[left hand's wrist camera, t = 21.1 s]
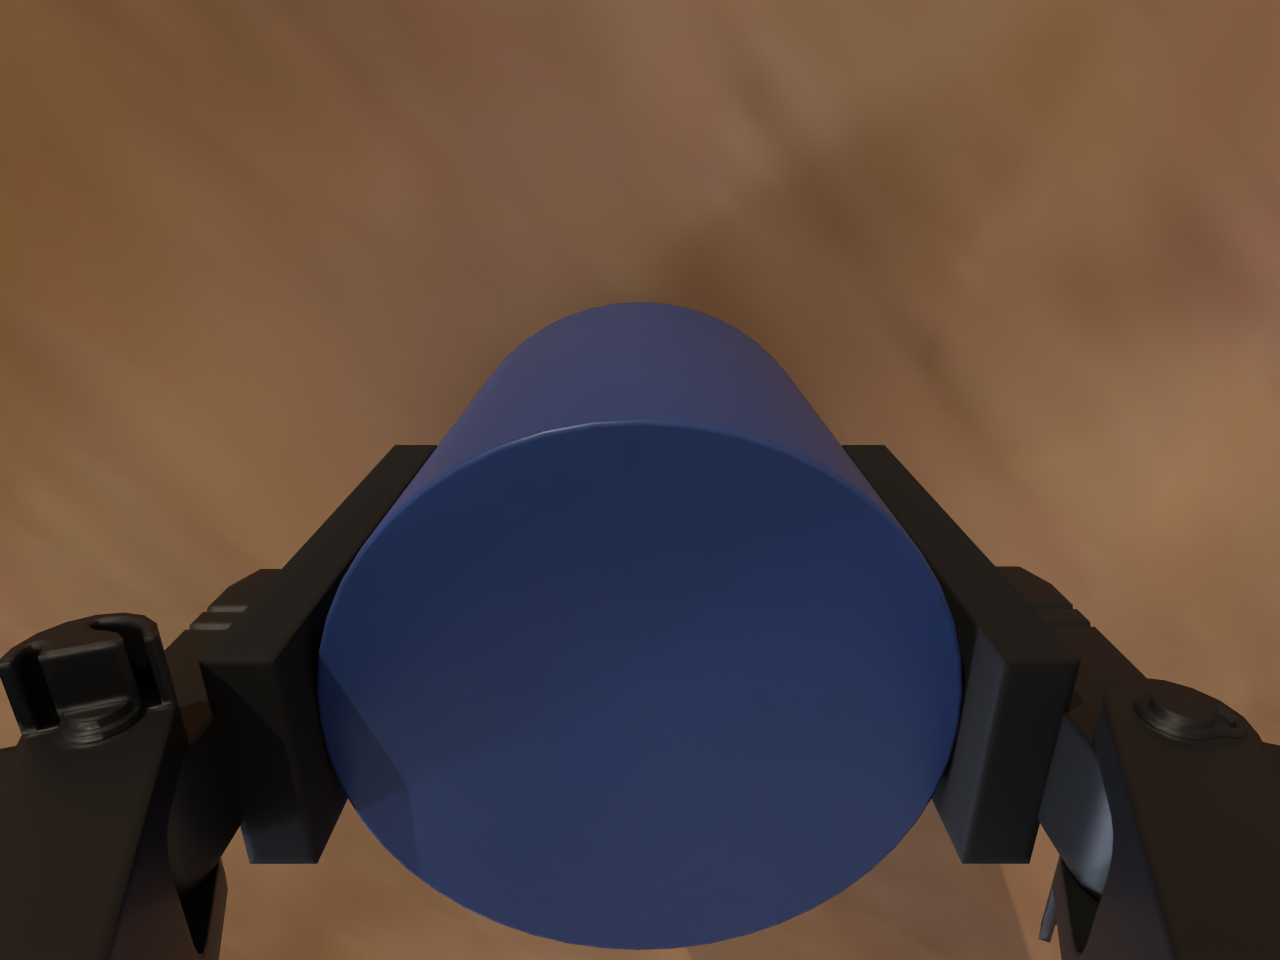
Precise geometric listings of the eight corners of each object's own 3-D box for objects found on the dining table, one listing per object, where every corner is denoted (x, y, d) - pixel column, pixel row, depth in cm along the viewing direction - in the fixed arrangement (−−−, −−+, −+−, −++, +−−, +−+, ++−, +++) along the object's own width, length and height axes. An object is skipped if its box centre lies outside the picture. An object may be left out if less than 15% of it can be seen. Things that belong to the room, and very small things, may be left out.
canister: (884, 390, 15) (1099, 576, 8) (725, 677, 17) (782, 1010, 10) (532, 238, 14) (423, 298, 7) (416, 567, 16) (251, 855, 9)
